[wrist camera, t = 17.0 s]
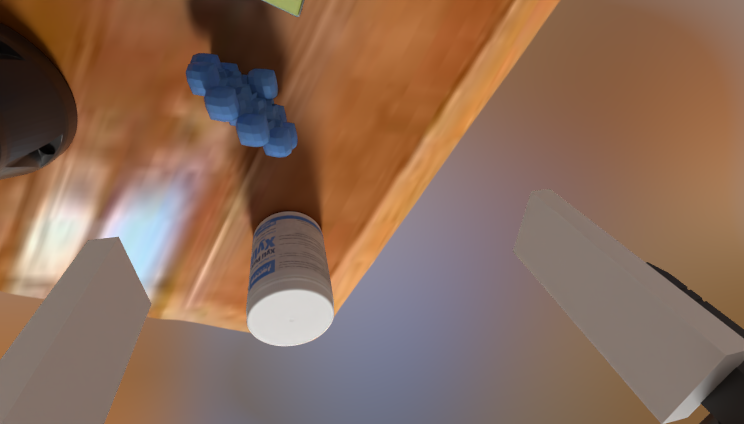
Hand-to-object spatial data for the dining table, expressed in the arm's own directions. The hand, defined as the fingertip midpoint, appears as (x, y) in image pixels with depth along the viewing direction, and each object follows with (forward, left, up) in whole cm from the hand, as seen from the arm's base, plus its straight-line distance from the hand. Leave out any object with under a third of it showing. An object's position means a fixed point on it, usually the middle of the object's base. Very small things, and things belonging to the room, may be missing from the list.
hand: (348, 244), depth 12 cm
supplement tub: (-4, -23, -32) cm, 40 cm away
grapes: (-5, -2, -32) cm, 32 cm away
